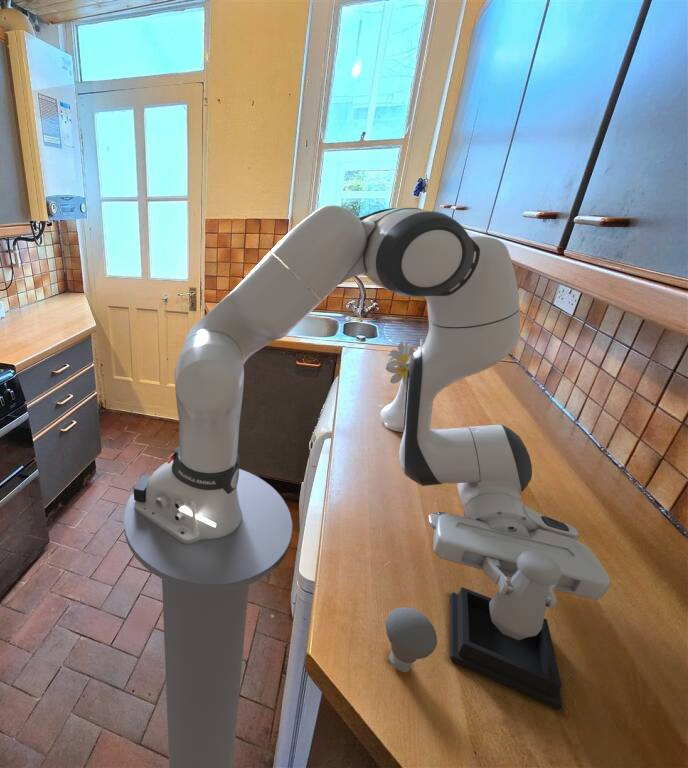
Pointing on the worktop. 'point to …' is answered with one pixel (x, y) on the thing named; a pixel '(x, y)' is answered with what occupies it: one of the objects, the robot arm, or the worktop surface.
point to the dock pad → (503, 650)
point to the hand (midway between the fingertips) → (528, 597)
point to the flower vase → (396, 409)
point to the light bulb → (409, 637)
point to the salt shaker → (525, 596)
